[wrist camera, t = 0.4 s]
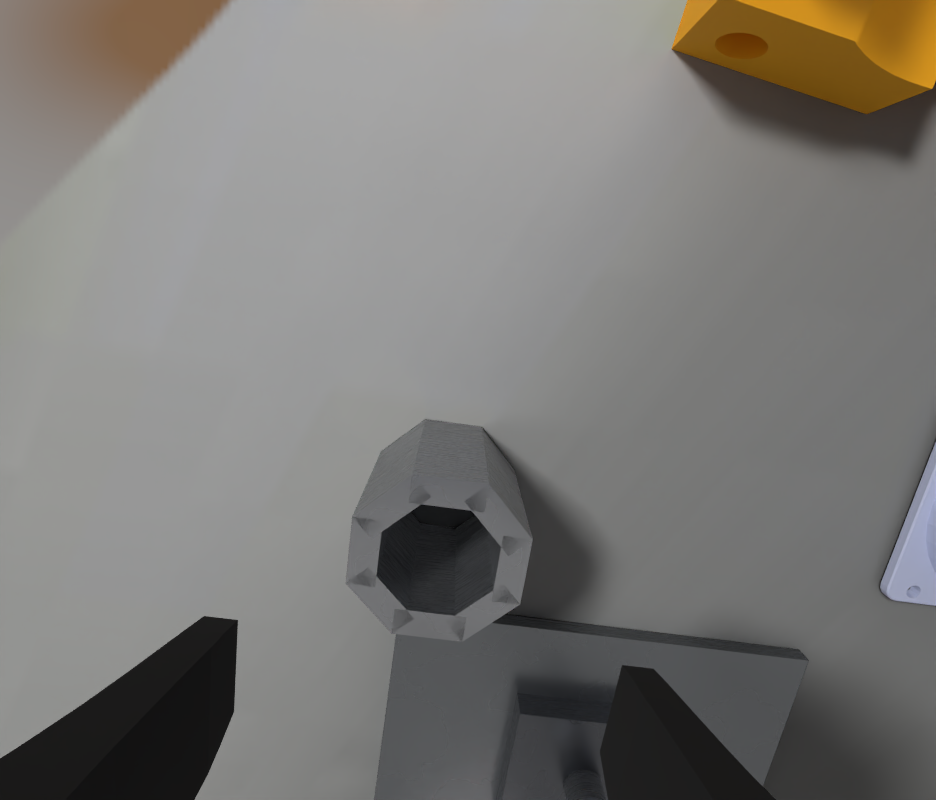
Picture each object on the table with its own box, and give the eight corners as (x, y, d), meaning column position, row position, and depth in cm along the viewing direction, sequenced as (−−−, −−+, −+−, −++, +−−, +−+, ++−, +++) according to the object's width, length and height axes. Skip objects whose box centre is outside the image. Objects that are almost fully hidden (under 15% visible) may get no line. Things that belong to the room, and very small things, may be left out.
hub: (520, 432, 18) (542, 490, 13) (498, 552, 19) (511, 647, 14) (385, 413, 18) (357, 466, 13) (371, 536, 19) (340, 627, 14)
